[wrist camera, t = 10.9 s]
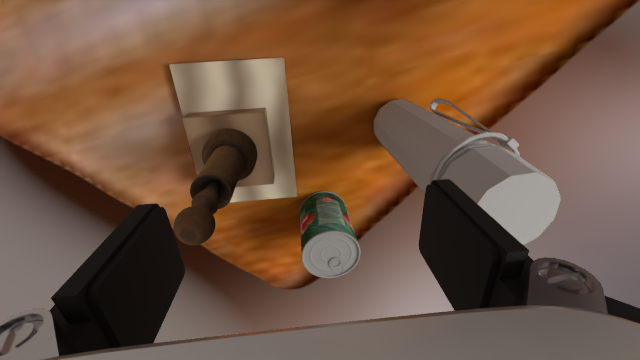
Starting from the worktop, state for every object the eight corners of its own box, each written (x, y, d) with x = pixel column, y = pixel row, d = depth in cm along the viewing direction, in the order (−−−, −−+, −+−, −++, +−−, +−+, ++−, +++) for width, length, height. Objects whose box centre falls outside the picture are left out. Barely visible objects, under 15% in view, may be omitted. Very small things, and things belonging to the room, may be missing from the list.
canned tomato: (291, 201, 47) (291, 245, 37) (336, 183, 46) (348, 222, 36) (310, 237, 50) (315, 285, 40) (352, 220, 49) (368, 265, 40)
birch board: (283, 57, 37) (283, 57, 36) (297, 192, 46) (297, 196, 45) (172, 63, 36) (169, 64, 35) (207, 200, 45) (205, 204, 44)
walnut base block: (266, 107, 39) (264, 112, 36) (274, 175, 43) (273, 184, 40) (189, 112, 38) (182, 118, 35) (206, 180, 42) (200, 190, 40)
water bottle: (396, 156, 45) (502, 272, 22) (359, 125, 42) (437, 223, 20) (440, 108, 42) (610, 187, 20) (404, 73, 40) (552, 117, 17)
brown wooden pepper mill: (198, 162, 38) (131, 252, 22) (216, 119, 36) (155, 183, 20) (246, 182, 40) (217, 278, 24) (265, 141, 38) (247, 218, 22)
